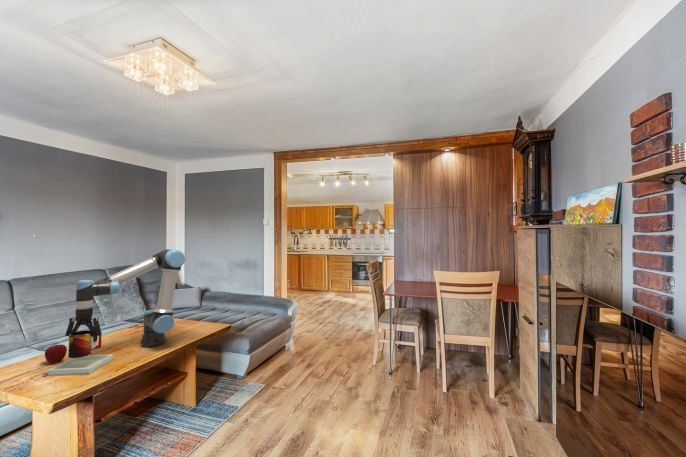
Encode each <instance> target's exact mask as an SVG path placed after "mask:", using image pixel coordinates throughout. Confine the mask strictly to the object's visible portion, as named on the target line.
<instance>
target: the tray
mask: <svg viewBox="0 0 686 457" xmlns="http://www.w3.org/2000/svg"><path fill="white" fill-rule="evenodd" d="M113 360H115V355H114V354H92V355H91V354H90V355H88V356H85V357H80V358H69V359H68V360H66V361H64V362H62V363H60V364H58V365H56V366H54V367H52V368H49V369H48V370H47V376H48V377H52V376H53V377H54V376H55V377H57V376H82V375H90V374H92V373H94V372H95V371H97V370H99V369H100V368H102V367H104V366H105V365H107V364H108V363H110V362H112V361H113Z"/></svg>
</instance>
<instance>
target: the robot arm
mask: <svg viewBox="0 0 686 457" xmlns="http://www.w3.org/2000/svg"><path fill="white" fill-rule="evenodd" d="M185 261H186V257H185V254H184V253H183V252H182V251H181V250H179V249H169V248H168V249H163V250H161V251H159V252H157V253H155V254H153V255H151V256H150V257H149V258H147V259H145V260H144V261H141V262H138V263H136V264H133V265H131V266H130V267H127V268H125V269H123V270H119V272H116V273H113V274H112V275H109V276H107V277H105V278H102V279H97V280H95V281H94V279H82V280H78V281H76V287H75V288H76V289H75V314H74V315H75V316H73V317H71V318H69V320H68V321H69V322H68V325H67V328H66V331H65V335H64V336H65V337H69V334H71V333H74V332H78V331H79V328H80V327H81V326H86V327H87V328H88V330H89V331H90V332H91V333H92V335H93V336H92V337H91V349H93V348H95V347H96V346H97V345H96V344H97V342H98V338H99V336H98V335H99V334H101V333H102V329H101V326H100V325H101V324H100V322H99V319H100V318H99V317H98V316H95V317H94V316H93V313H94V311H93V310H94V308H93V307H94V297H99V296H100V297H101V296H109V295H110V296H112V295H117V294H118V293H119V292H120V285H122V284H124V283H126V282H129V281H131V280H133V279H135V278H137V277H139V276H141V275H143V274H145V273H148V272H150V271H153V270H155V269H156V270H158V269H160V268H161V269H160V270H161V271H162V276H161V282H160V287H159V293H158V298H157V299H158V300H157V303H156V308H155V309H149V310H145V311H144V313H143V334H142V337H141V339H140V341H139V342H140V343H139V344H140V347H141V346H142V347H141V348H151V347H150V346H154V347H158V346H157V345H159V346H161V344H162V345H164V344H166V343H167V337H166V334H165V333H167V332H169V331H170V330H172V328H173V327H174V325H175V319H174V316H173V315H174V310H173V309H172V306H173V301H174V297H175V296H174V295H175V289H176V283H177V277H178V274H179V272H181V271H182V270H181V269H182V267H183V265H184V264H185ZM75 322H76V323H75ZM102 334H103V333H102ZM165 342H166V343H165ZM163 343H164V344H163Z"/></svg>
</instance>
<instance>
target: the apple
mask: <svg viewBox="0 0 686 457" xmlns="http://www.w3.org/2000/svg"><path fill="white" fill-rule="evenodd" d="M67 351H68V347H67V346H66V345H65V344H54V345H51V346H49V347H47V348H46V350H45V351H44V358H45V360H46V362H47V363H48V364H57V363H60V362H62V361H63V360H64V359H65V357H66V355H67Z"/></svg>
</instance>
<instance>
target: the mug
mask: <svg viewBox="0 0 686 457" xmlns="http://www.w3.org/2000/svg"><path fill="white" fill-rule="evenodd" d="M102 334H103V333H101V334H99V335H98V343H97V345H96V347H95V348H93V349H91V337H92V336H93V335H92V333H91V332H90V330H89V329H88V330H80V331H79V330H77V332H74V333H71V334H69V336H68V350H67V351H68V355H67V358H69V359H72V358H80V357H85V356H88V355H91V354H92V351H93V350H98V349H100V348H101V349H102V336H103V335H102Z"/></svg>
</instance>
